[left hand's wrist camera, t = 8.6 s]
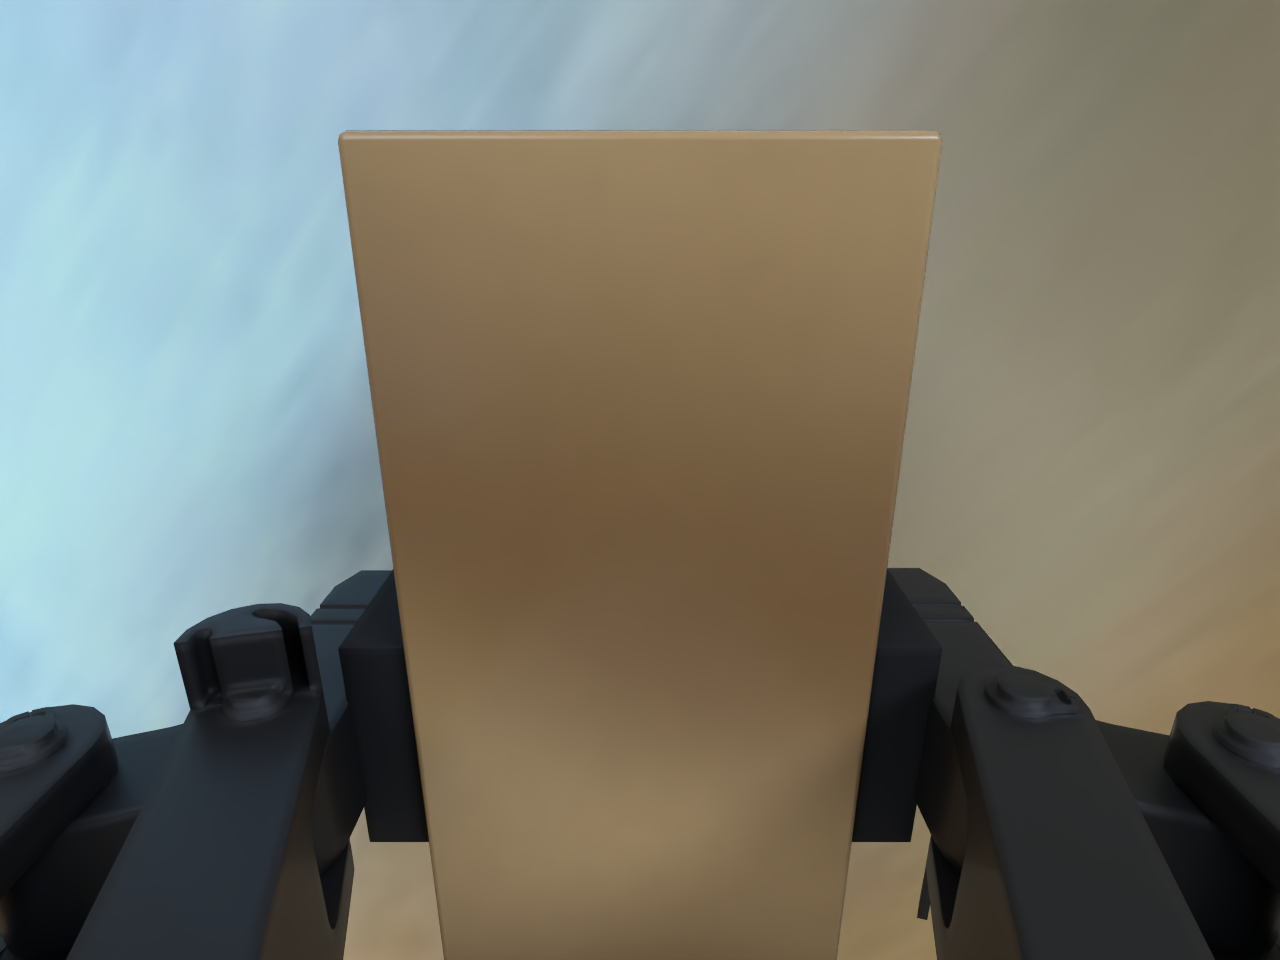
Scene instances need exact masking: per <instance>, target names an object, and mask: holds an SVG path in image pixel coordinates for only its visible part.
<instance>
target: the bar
mask: <svg viewBox="0 0 1280 960" xmlns="http://www.w3.org/2000/svg"><path fill="white" fill-rule="evenodd" d="M338 145H339V153H340V160H341V168H342V176H343V183H344V191H345V199H346V207H347V214H348V222H349V230H350V237H351V245H352V253H353V260H354V268H355V276H356V284H357V291H358V299H359V307H360V314H361V322H362V330H363V337H364V345H365V353H366V360H367V368H368V376H369V384H370V391H371V399H372V407H373V414H374V422H375V430H376V437H377V445H378V453H379V461H380V468H381V476H382V484H383V491H384V499H385V507H386V514H387V522H388V530H389V538H390V545H391V553H392V561H393V568H394V576H395V584H396V591H397V599H398V607H399V615H400V622H401V630H402V638H403V645H404V653H405V661H406V668H407V676H408V684H409V692H410V699H411V707H412V715H413V722H414V730H415V738H416V745H417V753H418V761H419V768H420V776H421V784H422V792H423V799H424V807H425V815H426V822H427V830H428V838H429V845H430V853H431V861H432V869H433V876H434V884H435V892H436V899H437V907H438V915H439V922H440V930H441V938H442V946H443V953H444V960H836V959H837V951H838V944H839V936H840V928H841V920H842V913H843V905H844V897H845V889H846V882H847V874H848V866H849V859H850V851H851V843H852V835H853V828H854V820H855V812H856V804H857V797H858V789H859V781H860V773H861V766H862V758H863V750H864V742H865V735H866V727H867V719H868V711H869V704H870V696H871V688H872V680H873V673H874V665H875V657H876V649H877V642H878V634H879V626H880V618H881V611H882V603H883V595H884V587H885V580H886V572H887V564H888V556H889V549H890V541H891V533H892V526H893V518H894V510H895V502H896V495H897V487H898V479H899V471H900V464H901V456H902V448H903V440H904V433H905V425H906V417H907V409H908V402H909V394H910V386H911V378H912V371H913V363H914V355H915V347H916V340H917V332H918V324H919V316H920V309H921V301H922V293H923V285H924V278H925V270H926V262H927V254H928V247H929V239H930V231H931V223H932V216H933V208H934V200H935V193H936V185H937V177H938V169H939V162H940V154H941V146H942V139H941V134H940V133H938V132H936V131H934V130H347V131H345V132H343V133H341V134H340V135H339V140H338Z"/></svg>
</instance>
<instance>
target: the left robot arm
mask: <svg viewBox="0 0 1280 960" xmlns="http://www.w3.org/2000/svg"><path fill="white" fill-rule="evenodd" d="M174 647H175V651H176V655H177V659H178V662H179V666H180V670H181V674H182V678H183V682H184V686H185V690H186V694H187V698H188V702H189V706H190V712H189V714H188V716H187V718H186V720H185V722H184V724H181V725H177V726H173V727H169V728H164V729H159V730H154V731H149V732H144V733H139V734H134V735H129V736H124V737H119V738H114V739H112V738H111V735H110V731H109V728H108V725H107V721H106V718H105V715H103V714H102V713H101V712H99V711H98V710H97V709H95V708H94V707H88V706H81V705H65V706H56V707H45V708H41V709H36V710H32V712H30V713H29V712H25V713H22V714H19V715H16V716H13V717H11V718H9V719H8V720H7V721H4V722H2V723H0V960H343V955H344V948H345V940H346V932H347V924H348V916H349V908H350V900H351V892H352V884H353V877H354V863H353V856H352V850H351V844H350V839H349V838H350V836H351V834H352V831H353V829H354V827H355V825H356V823H357V821H358V819H359V816H360V814H361V812H362V810H363V808H365V814H366V820H367V827H368V833H369V839H370V842H429V838H428V830H427V822H426V815H425V807H424V799H423V792H422V784H421V776H420V768H419V761H418V753H417V745H416V738H415V730H414V722H413V715H412V707H411V699H410V692H409V684H408V676H407V668H406V661H405V653H404V645H403V638H402V630H401V622H400V615H399V607H398V599H397V591H396V584H395V576H394V569H393V570H392V571H360V572H358V573H357V574H355V575H353V576H352V577H350V578H348V579H347V580H345V581H343V582H342V583H340V584H339V585H337V586H335V587H334V589H333V590H332V591H331V592H330V594H329V595H328V596H327V597H326V598H325V600H324V601H323V602H322V603H321V605H320V609H316V611H315V612H314V613H313V614H312V616H311V617H310V615H309V614H308V613H306V612H305V611H304V610H302V609H301V608H300V607H296V606H291V605H286V604H282V603H277V604H256V605H251V606H245V607H240V608H235V609H231V610H228V611H226V612H223V613H220V614H217V615H214V616H212V617H209V618H207V619H205V620H203V621H201V622H200V623H198V624H196V625H194V626H193V627H191V628H189V629H187V630H186V631H185V632H184V633H183V634H182V635H181V636H180V637H179V638H178V639H177V640H176V641H175V642H174ZM917 805H918V807H919V809H920V812H921V814H922V816H923V818H924V820H925V822H926V824H927V827H928V829H929V831H930V833H931V839H930V844H929V850H928V856H927V861H926V867H925V873H924V878H923V884H922V889H921V895H920V901H919V908H918V915H917V918H920V919H925V920H927V918H928V912H929V907H930V906H931V914H932V922H933V930H934V938H935V946H936V954H937V960H1280V719H1278V718H1276V717H1275V716H1273V715H1272V714H1270V713H1267V712H1264V711H1261V710H1258V709H1255V708H1253V709H1250V707H1248V706H1243V705H1238V704H1228V703H1219V702H1211V701H1206V702H1199V703H1191V704H1187V705H1186V706H1185V707H1183V708H1182V709H1181V710H1179V711H1178V712H1177V714H1176V717H1175V720H1174V724H1173V727H1172V730H1171V734H1170V736H1169V735H1164V734H1158V733H1153V732H1148V731H1143V730H1138V729H1133V728H1128V727H1123V726H1118V725H1113V724H1109V723H1105V722H1101V721H1097V720H1095V719H1094V717H1093V715H1092V713H1091V711H1090V709H1089V707H1088V706H1087V705H1086V704H1085V703H1084V701H1083V700H1082V699H1081V698H1080V696H1079V695H1078V694H1077V693H1075V692H1074V691H1072V690H1071V689H1069V688H1068V687H1067V686H1065V685H1064V684H1062V683H1061V682H1059V681H1057V680H1055V679H1053V678H1050V677H1048V676H1046V675H1043V674H1041V673H1038V672H1036V671H1033V670H1029V669H1025V668H1020V667H1016V666H1013V665H1012V664H1011V663H1010V662H1009V660H1008V659H1007V658H1006V657H1005V655H1004V654H1003V653H1002V652H1001V651H1000V649H999V648H998V647H997V646H996V645H995V643H994V642H993V641H992V640H991V638H990V637H989V636H988V635H987V634H986V632H985V631H984V630H983V629H982V628H981V626H980V625H979V624H978V623H977V622H974V618H973V617H972V615H971V614H970V613H969V612H968V611H967V609H966V608H965V607H964V606H961V602H960V601H959V600H958V598H957V597H956V596H955V595H954V594H953V592H952V591H951V590H950V589H949V587H948V586H947V585H946V584H945V583H943V582H941V581H940V580H938V579H936V578H935V577H933V576H931V575H930V574H928V573H926V572H925V571H923V570H921V569H920V568H887V572H886V580H885V587H884V595H883V603H882V611H881V618H880V626H879V634H878V642H877V649H876V657H875V665H874V673H873V680H872V688H871V696H870V704H869V711H868V719H867V727H866V735H865V742H864V750H863V758H862V766H861V773H860V781H859V789H858V797H857V804H856V812H855V820H854V828H853V835H852V842H911V836H912V830H913V824H914V818H915V812H916V806H917Z"/></svg>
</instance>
